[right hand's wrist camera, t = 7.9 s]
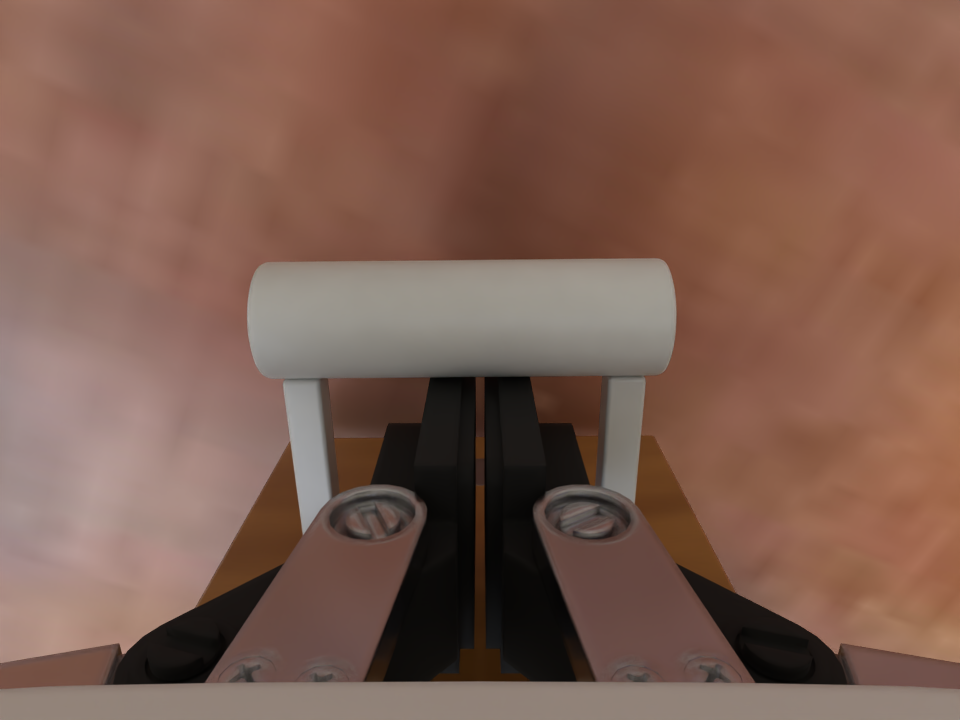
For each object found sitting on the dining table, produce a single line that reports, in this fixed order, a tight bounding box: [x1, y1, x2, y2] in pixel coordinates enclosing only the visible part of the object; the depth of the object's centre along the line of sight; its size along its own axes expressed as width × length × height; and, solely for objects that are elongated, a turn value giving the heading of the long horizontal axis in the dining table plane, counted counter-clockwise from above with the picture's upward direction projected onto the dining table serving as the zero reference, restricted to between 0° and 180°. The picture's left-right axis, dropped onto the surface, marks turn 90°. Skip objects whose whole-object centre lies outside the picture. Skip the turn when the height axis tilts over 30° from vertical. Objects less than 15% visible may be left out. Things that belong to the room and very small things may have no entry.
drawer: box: [195, 258, 736, 682], centre depth 14 cm, size 20×9×8 cm, turn 1°
